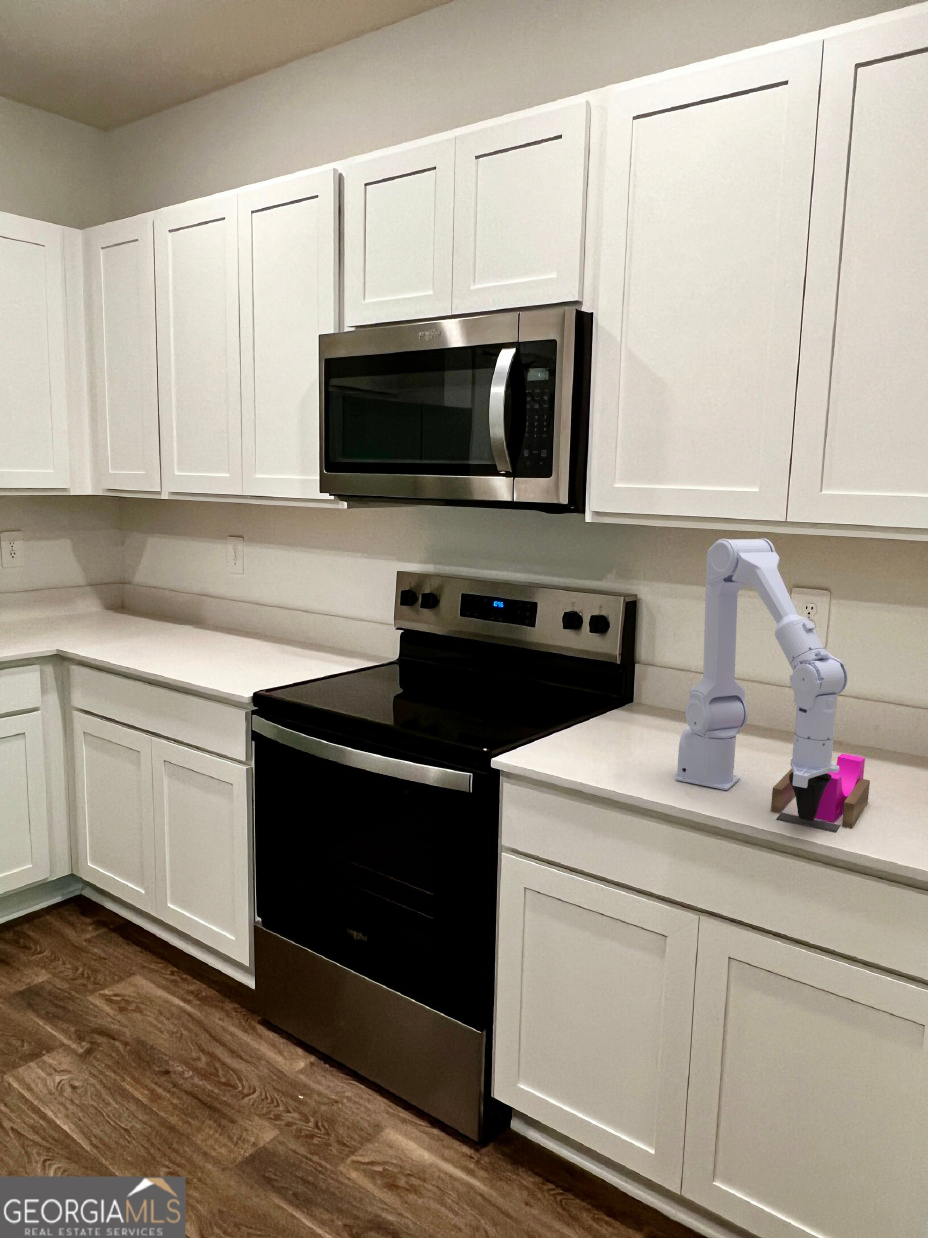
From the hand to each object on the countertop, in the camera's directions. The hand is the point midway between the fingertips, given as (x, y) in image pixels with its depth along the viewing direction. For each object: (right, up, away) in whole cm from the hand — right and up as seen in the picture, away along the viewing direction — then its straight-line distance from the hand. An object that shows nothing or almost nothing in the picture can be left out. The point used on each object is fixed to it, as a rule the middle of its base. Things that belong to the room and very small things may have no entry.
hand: (806, 818), depth 142 cm
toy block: (+7, 0, +9) cm, 12 cm away
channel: (+5, 0, +8) cm, 10 cm away
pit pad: (+1, -1, +1) cm, 2 cm away
